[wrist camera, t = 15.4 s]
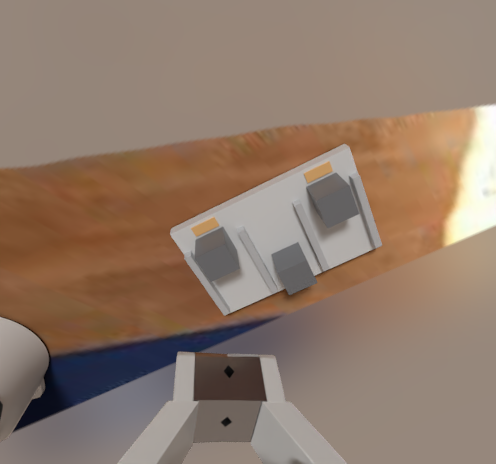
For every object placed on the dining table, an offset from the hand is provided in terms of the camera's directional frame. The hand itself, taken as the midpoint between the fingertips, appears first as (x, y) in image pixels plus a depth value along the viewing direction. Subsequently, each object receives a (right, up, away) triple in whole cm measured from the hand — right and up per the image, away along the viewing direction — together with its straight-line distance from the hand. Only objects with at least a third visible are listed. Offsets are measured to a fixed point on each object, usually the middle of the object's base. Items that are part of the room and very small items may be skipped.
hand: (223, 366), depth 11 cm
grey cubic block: (+6, +1, +32) cm, 32 cm away
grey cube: (+10, +9, +28) cm, 31 cm away
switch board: (+5, +4, +32) cm, 32 cm away
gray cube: (-3, +3, +30) cm, 30 cm away
